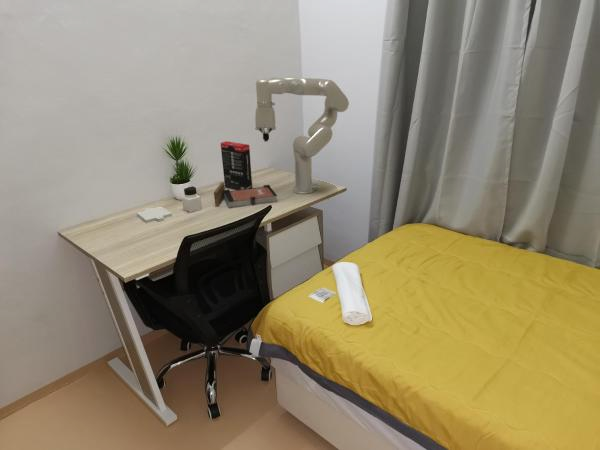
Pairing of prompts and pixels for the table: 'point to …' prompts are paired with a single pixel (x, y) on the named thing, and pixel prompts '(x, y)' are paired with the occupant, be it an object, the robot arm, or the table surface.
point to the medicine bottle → (191, 200)
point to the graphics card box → (236, 165)
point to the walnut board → (219, 194)
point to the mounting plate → (154, 214)
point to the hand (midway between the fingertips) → (266, 140)
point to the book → (249, 196)
